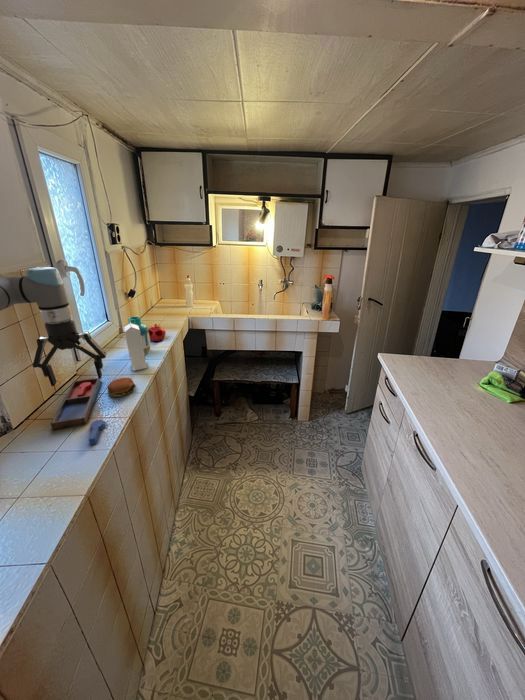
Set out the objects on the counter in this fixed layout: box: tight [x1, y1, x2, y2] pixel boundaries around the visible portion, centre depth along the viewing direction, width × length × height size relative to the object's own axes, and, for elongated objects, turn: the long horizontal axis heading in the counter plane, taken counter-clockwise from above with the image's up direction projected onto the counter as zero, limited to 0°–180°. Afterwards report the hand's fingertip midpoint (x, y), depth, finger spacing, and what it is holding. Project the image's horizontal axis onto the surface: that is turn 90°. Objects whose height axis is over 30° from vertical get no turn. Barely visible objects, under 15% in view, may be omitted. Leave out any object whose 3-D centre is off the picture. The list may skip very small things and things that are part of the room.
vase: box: [127, 315, 151, 355], centre depth 139 cm, size 11×11×19 cm
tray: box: [50, 377, 102, 431], centre depth 104 cm, size 10×28×3 cm, turn 18°
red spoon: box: [78, 382, 92, 397], centre depth 109 cm, size 4×10×2 cm, turn 18°
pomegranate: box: [148, 323, 167, 342], centre depth 159 cm, size 10×10×9 cm
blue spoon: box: [88, 419, 106, 445], centre depth 89 cm, size 4×10×2 cm, turn 18°
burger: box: [107, 377, 137, 398], centre depth 110 cm, size 10×9×5 cm
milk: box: [123, 323, 148, 372], centre depth 126 cm, size 6×6×22 cm
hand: (77, 380), depth 94 cm, fingers open, 13 cm apart
